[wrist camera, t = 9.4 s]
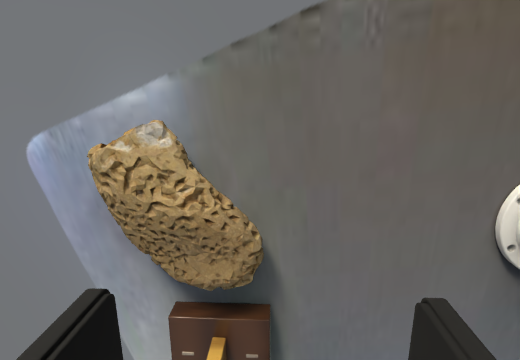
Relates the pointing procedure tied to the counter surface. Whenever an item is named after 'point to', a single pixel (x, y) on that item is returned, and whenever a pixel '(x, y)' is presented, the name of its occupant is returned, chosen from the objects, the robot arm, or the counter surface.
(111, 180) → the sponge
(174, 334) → the lock plate
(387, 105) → the counter surface
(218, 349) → the thumbturn
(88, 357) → the robot arm
